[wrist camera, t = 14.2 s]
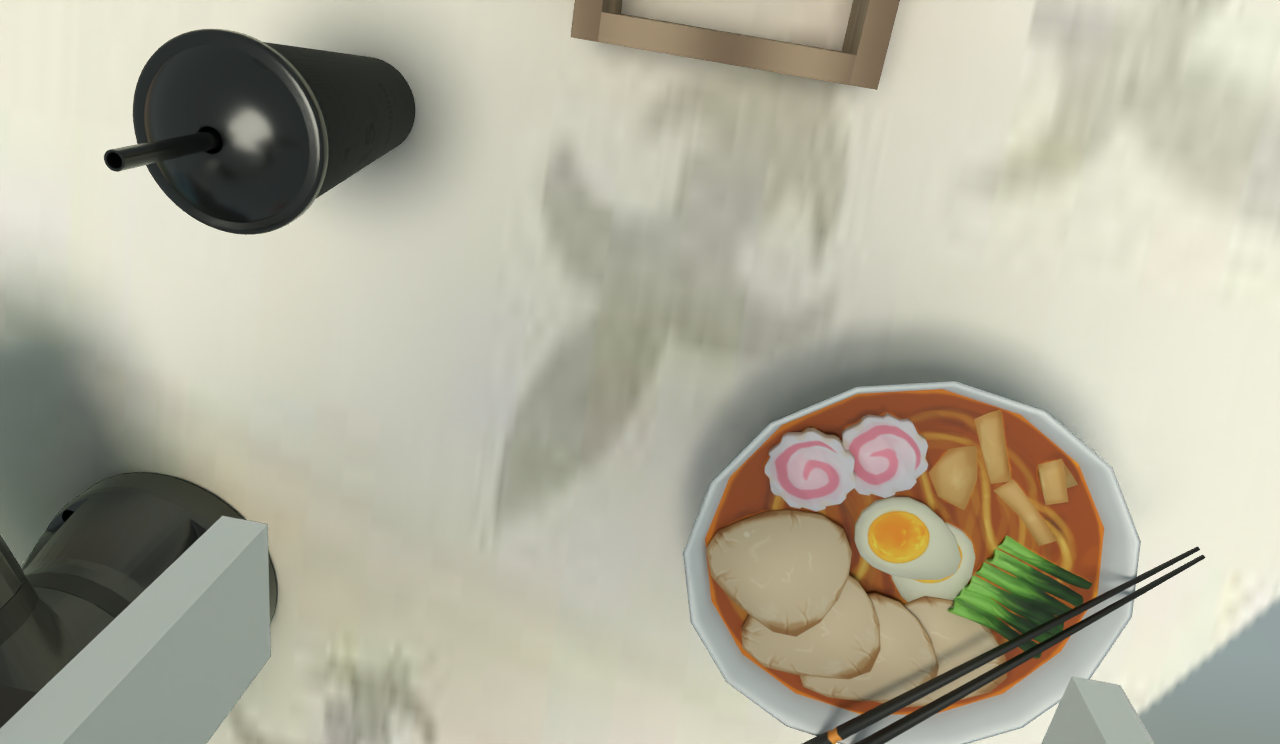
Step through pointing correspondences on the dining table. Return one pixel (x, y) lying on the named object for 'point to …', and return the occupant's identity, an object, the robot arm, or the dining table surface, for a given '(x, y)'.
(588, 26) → the holder
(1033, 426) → the ramen bowl
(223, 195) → the drinking cup
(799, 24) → the dining table surface
